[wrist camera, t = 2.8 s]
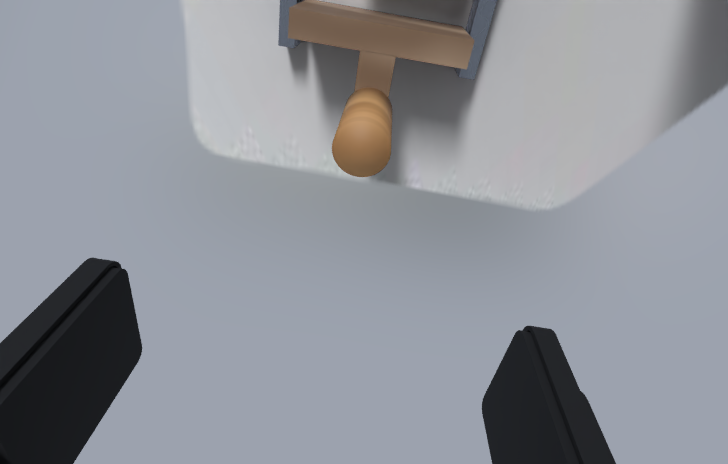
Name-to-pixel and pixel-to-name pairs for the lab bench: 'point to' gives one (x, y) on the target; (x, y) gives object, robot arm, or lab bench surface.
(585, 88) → the lab bench surface
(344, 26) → the sliding jaw
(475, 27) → the clamp frame
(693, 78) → the lab bench surface
